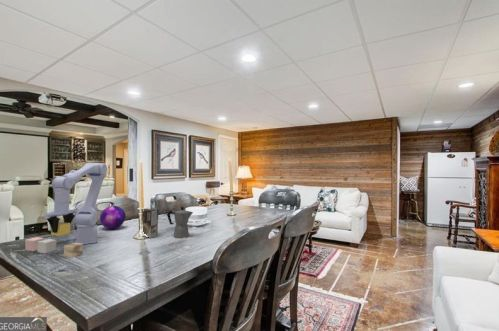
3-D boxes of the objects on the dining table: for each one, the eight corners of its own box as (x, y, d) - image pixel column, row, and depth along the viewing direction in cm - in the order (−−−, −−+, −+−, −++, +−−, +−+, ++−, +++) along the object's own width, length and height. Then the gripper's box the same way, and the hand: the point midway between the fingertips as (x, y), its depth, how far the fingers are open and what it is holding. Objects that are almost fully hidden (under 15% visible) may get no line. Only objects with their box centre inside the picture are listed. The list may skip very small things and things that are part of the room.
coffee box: (158, 235, 152) (159, 209, 153) (150, 238, 146) (151, 211, 146) (145, 234, 155) (146, 208, 156) (138, 236, 149) (139, 209, 149)
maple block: (73, 253, 119) (74, 242, 119) (82, 254, 117) (82, 243, 117) (63, 256, 114) (64, 245, 114) (72, 258, 113) (72, 247, 113)
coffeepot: (192, 234, 159) (193, 205, 160) (192, 238, 150) (193, 208, 150) (167, 234, 156) (168, 205, 156) (165, 238, 147) (166, 208, 147)
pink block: (36, 247, 125) (36, 237, 125) (43, 248, 124) (44, 238, 124) (25, 250, 121) (25, 239, 121) (32, 251, 119) (33, 240, 119)
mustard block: (61, 232, 121) (62, 222, 121) (69, 233, 120) (70, 222, 120) (51, 234, 116) (51, 224, 116) (59, 236, 115) (59, 225, 115)
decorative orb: (93, 230, 160) (94, 207, 160) (110, 225, 175) (111, 203, 175) (114, 232, 157) (115, 208, 157) (129, 226, 172) (130, 205, 172)
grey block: (48, 249, 123) (48, 238, 123) (56, 250, 122) (56, 240, 122) (37, 252, 118) (37, 241, 118) (45, 253, 117) (45, 242, 117)
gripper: (70, 200, 126) (68, 226, 126) (39, 203, 112) (37, 233, 112) (81, 200, 124) (79, 228, 124) (51, 204, 110) (49, 235, 110)
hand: (60, 231), depth 118 cm, fingers closed on mustard block, 5 cm apart
